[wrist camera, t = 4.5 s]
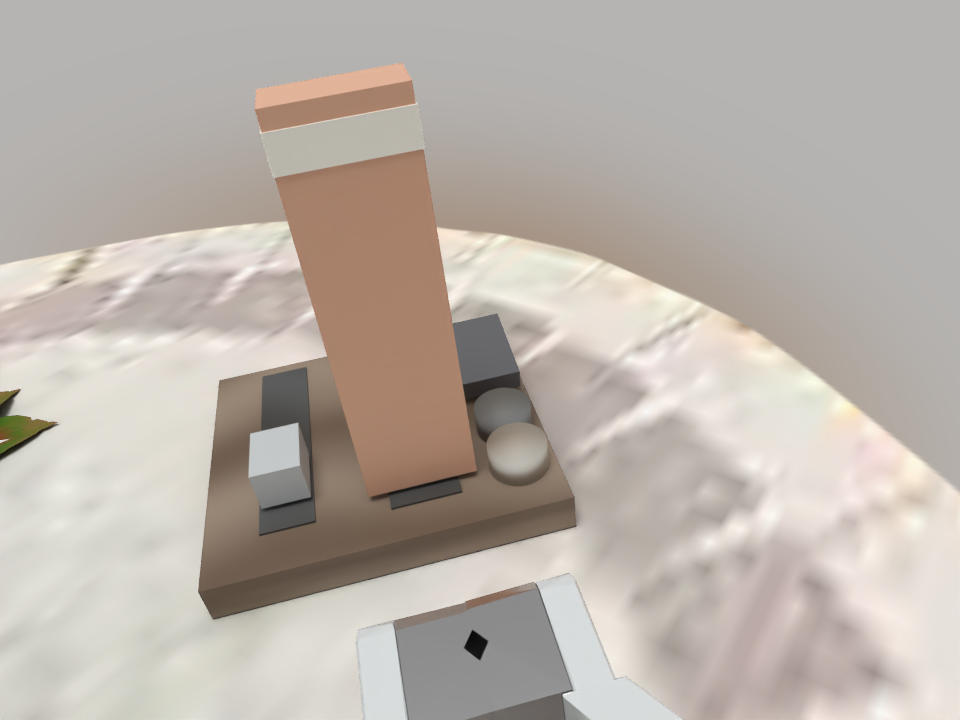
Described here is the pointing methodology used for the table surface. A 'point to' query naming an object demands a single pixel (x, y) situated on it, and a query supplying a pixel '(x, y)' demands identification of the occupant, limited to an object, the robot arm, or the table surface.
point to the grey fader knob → (279, 465)
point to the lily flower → (17, 426)
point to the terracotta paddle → (372, 267)
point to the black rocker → (484, 356)
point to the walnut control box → (362, 494)
